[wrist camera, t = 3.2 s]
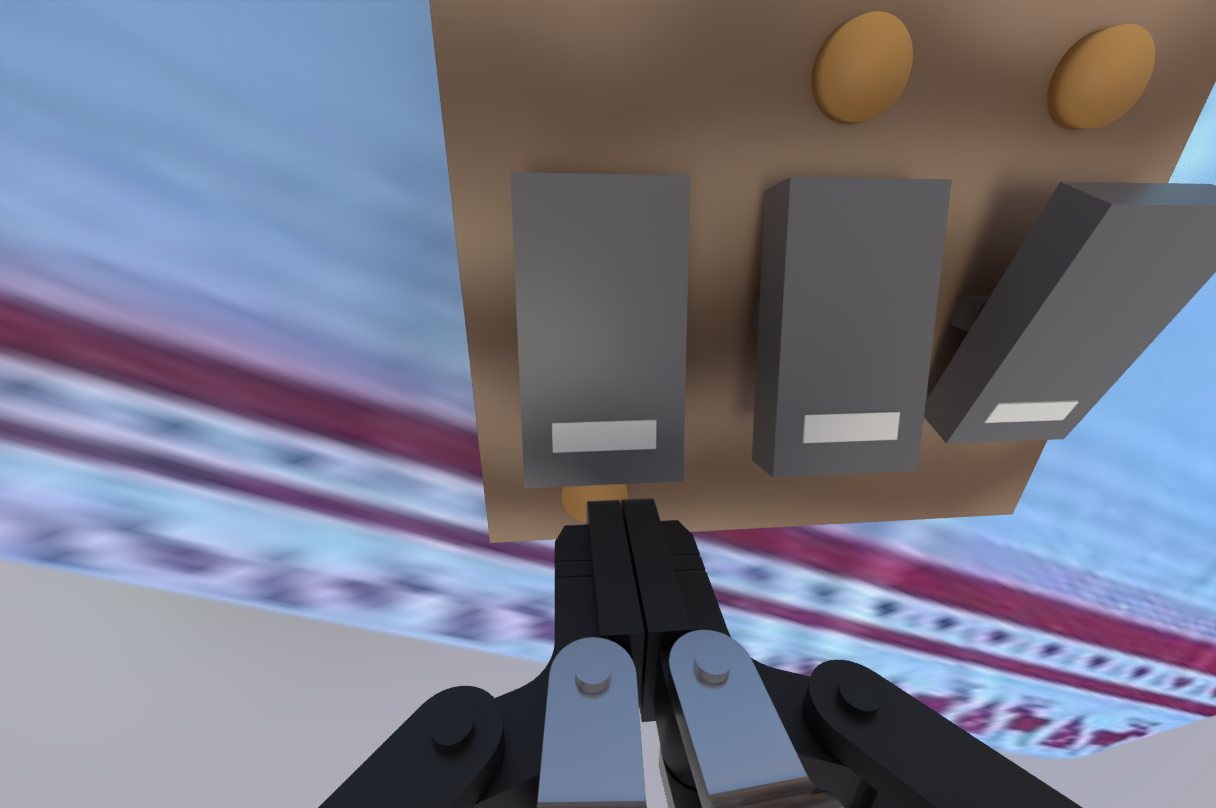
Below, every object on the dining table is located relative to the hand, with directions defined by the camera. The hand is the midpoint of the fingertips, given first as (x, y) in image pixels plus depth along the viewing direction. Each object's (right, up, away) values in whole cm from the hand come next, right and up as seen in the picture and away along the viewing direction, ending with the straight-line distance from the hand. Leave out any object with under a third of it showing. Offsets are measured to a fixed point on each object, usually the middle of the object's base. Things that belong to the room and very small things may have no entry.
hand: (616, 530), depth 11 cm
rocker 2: (+7, +5, +3) cm, 9 cm away
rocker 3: (+14, +5, +4) cm, 15 cm away
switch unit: (+6, +8, +9) cm, 13 cm away
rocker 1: (0, +5, +2) cm, 5 cm away
